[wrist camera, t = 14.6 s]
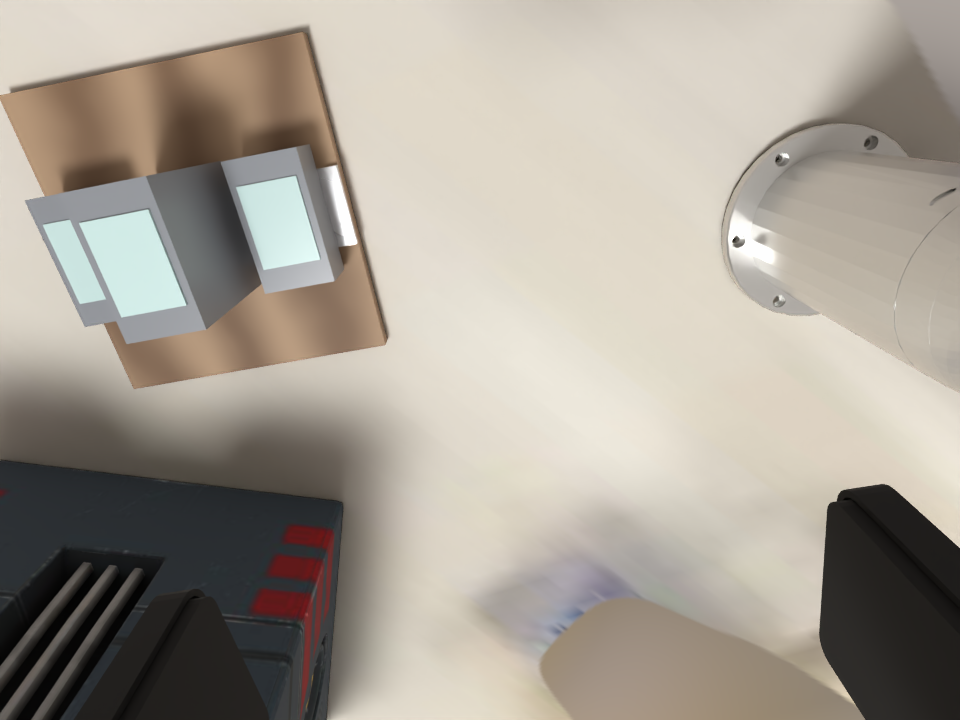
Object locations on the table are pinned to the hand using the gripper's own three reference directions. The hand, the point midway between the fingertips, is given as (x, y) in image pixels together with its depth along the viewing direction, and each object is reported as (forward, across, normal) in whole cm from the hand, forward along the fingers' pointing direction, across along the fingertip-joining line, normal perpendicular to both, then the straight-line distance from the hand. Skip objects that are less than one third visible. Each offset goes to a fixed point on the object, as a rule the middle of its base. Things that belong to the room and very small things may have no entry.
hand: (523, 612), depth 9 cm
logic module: (+32, +18, -3) cm, 37 cm away
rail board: (+33, +18, -3) cm, 38 cm away
